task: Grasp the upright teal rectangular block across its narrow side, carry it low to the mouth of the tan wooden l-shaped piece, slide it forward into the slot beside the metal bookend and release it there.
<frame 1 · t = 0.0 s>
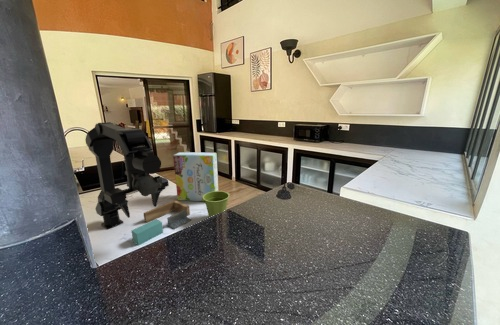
hand: (142, 211, 72), 15 cm above the worktop, fingers open, 9 cm apart
snack box: (198, 198, 118), on the worktop
plant pot: (217, 218, 97), on the worktop
bookend: (177, 222, 93), on the worktop
tan wooden l-shaped piece: (169, 218, 96), on the worktop
teal rectangular block: (148, 237, 83), on the worktop
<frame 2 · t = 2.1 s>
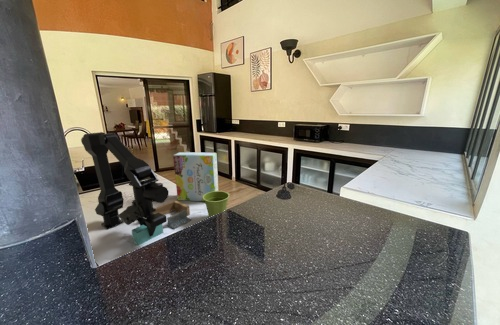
hand: (148, 233, 82), 1 cm above the worktop, fingers closed on teal rectangular block, 4 cm apart
teal rectangular block: (148, 236, 83), on the worktop, touching gripper
everything else where it was.
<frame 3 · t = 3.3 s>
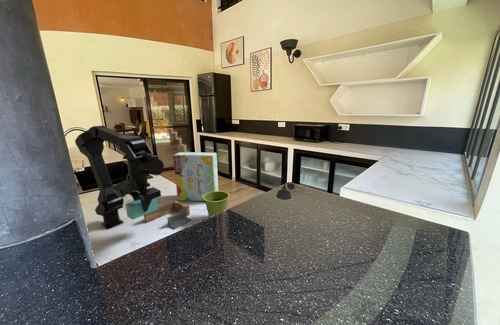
hand: (142, 209, 81), 11 cm above the worktop, fingers closed on teal rectangular block, 4 cm apart
teal rectangular block: (143, 212, 82), point 10 cm above the worktop, touching gripper
everything else where it was.
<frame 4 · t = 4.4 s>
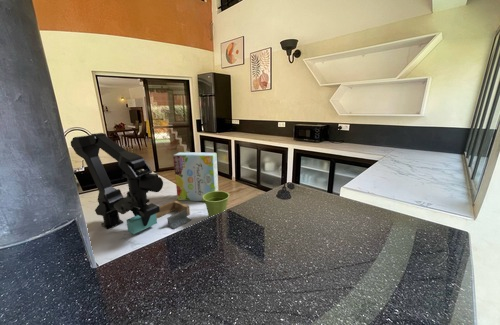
hand: (142, 224, 86), 3 cm above the worktop, fingers closed on teal rectangular block, 4 cm apart
teal rectangular block: (143, 227, 86), point 2 cm above the worktop, touching gripper
everything else where it was.
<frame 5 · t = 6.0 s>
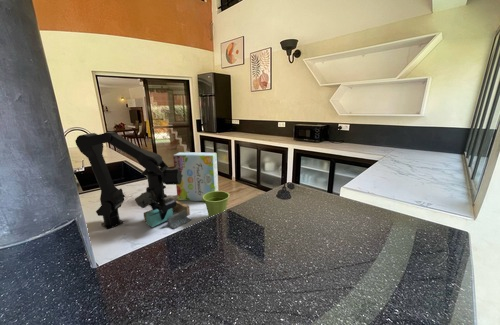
hand: (160, 217, 92), 3 cm above the worktop, fingers closed on teal rectangular block, 4 cm apart
teal rectangular block: (160, 220, 92), point 1 cm above the worktop, touching gripper
everything else where it was.
when the fingers open (2 cm above the worktop, at t = 7.1 s): teal rectangular block drops 1 cm, on the worktop.
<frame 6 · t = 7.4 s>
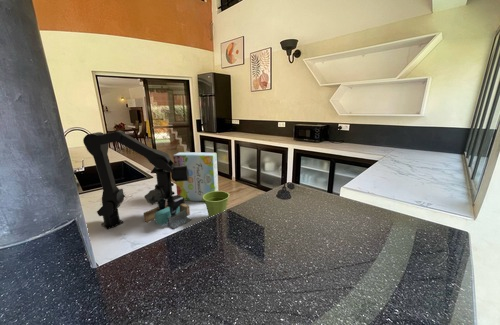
hand: (167, 214, 95), 2 cm above the worktop, fingers open, 7 cm apart
teal rectangular block: (168, 219, 96), on the worktop
everything else where it was.
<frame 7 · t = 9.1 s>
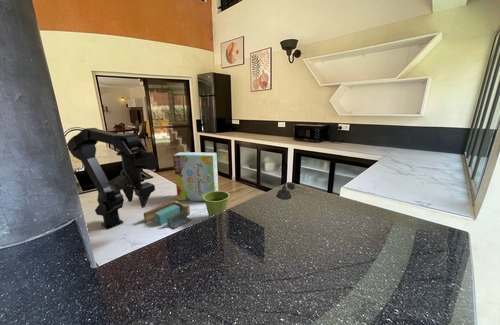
hand: (136, 204, 84), 12 cm above the worktop, fingers open, 9 cm apart
nothing on the worktop moved.
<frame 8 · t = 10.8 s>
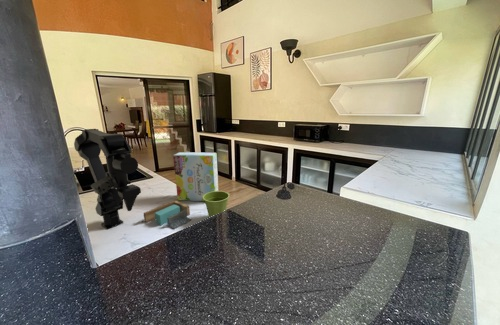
hand: (123, 207, 81), 12 cm above the worktop, fingers open, 9 cm apart
nothing on the worktop moved.
at the end: teal rectangular block inside the target area (0.9 cm from its centre), on the worktop; teal rectangular block tilted 0°; the gripper is holding nothing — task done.
